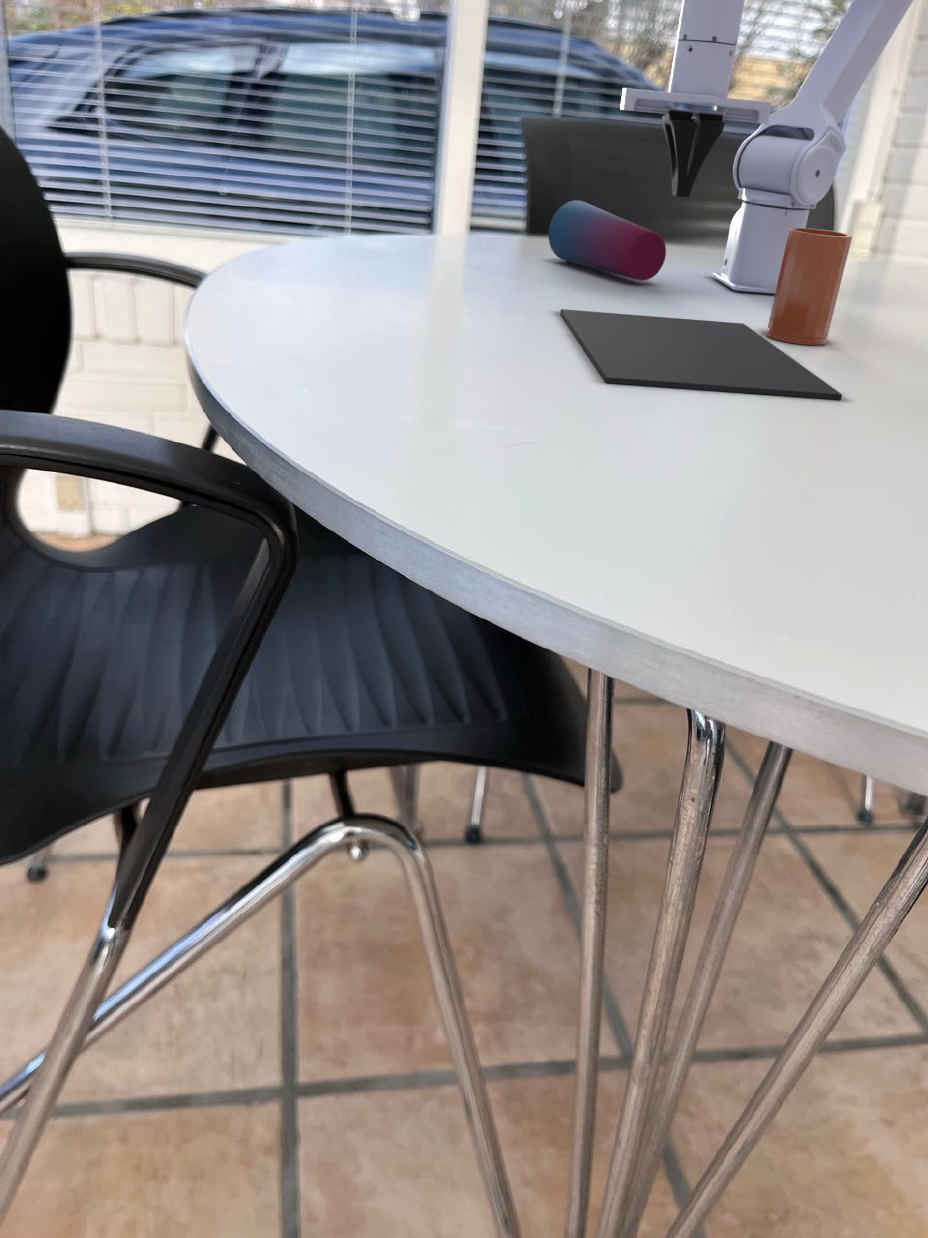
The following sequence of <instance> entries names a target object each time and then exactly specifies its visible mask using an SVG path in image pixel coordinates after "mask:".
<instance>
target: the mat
mask: <svg viewBox="0 0 928 1238" xmlns="http://www.w3.org/2000/svg"><path fill="white" fill-rule="evenodd" d="M559 313H560V315H561V316H562V319H563V320H564V322H565V323H566V324H567V326H568V327H569V329H570V331H571V332H572V333H573V335H574V336H575V338H576V339H577V341H578V342H579V344H580V345H581V347H582V348H583V351H584V352H585V353H586V355H587V356H588V358H589V359H590V360H591V362H592V364H593V365H594V366H595V368H596V369H597V371H598V373H599V374H600V375H601V377H602V378H603V380H604V381H605V383H606V384H620V385H633V386H646V387H658V388H660V387H661V388H673V389H685V390H687V389H688V390H701V391H715V392H727V393H728V392H730V393H741V394H756V395H770V396H782V397H784V396H785V397H796V398H797V397H799V398H808V399H809V398H812V399H822V400H823V399H826V400H838V401H841V400H842V397H843V393H841V392H839V391H838V390H837V389H835V388H834V387H832V386H831V385H830V384H828V383H827V382H826V381H824V380H823V379H821V378H820V377H818V376H817V375H816V374H814V373H813V372H812V371H811V370H809V369H808V368H806V367H805V366H803V365H802V364H801V363H799V362H798V361H796V360H795V359H794V358H792V357H791V356H789V355H788V354H786V353H785V352H784V351H783V350H781V349H780V348H778V347H777V346H776V345H774V344H772V342H770V341H769V340H767V339H766V338H765V337H763V336H762V335H760V334H759V333H757V331H755V330H753V329H752V328H750V327H749V326H748V325H746V324H745V323H741V322H731V321H730V322H728V321H716V320H704V319H691V318H679V317H667V316H655V315H653V316H652V315H642V314H641V315H639V314H629V313H615V312H614V313H613V312H602V311H592V310H591V311H589V310H576V309H565V308H560V312H559Z"/></svg>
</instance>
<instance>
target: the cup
mask: <svg viewBox="0 0 928 1238" xmlns="http://www.w3.org/2000/svg"><path fill="white" fill-rule="evenodd" d="M548 243H549V247H550V249H551V250H552V252H553V254H554V255H555V256H556V257H557V258H559V259H560V260H563V261H567V262H568V263H573V264H577V265H581V266H584V267H588V268H592V269H596V270H598V271H599V270H600V271H604V272H607V273H611V274H615V275H619V276H623V277H626V278H629V279H634V280H637V281H647V280H650V279H652V278H653V277H655V276H656V275H657V274H658V273H659V272H660V271H661V269H662V267H663V265H664V263H665V261H666V256H667V247H666V243H665V240H664V238H663V237H662V236H661V235H660V234H659V233H657V232H655V231H653V230H650V229H648V228H646V227H644V226H641V225H639V224H637V223H635V222H632V221H629V220H627V219H625V218H623V217H620V216H619V215H616V214H613V213H611V212H609V211H606V210H604V209H602V208H599V207H597V206H595V205H593V204H590V203H588V202H585V201H583V200H578V199H577V200H576V199H575V200H571V201H567V202H566V203H564V204H563V205H561V206H560V207H559V208H558V209H557V210H556V212H555V213H554V214H553V216H552V218H551V220H550V223H549V227H548Z"/></svg>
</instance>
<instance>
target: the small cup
mask: <svg viewBox="0 0 928 1238" xmlns="http://www.w3.org/2000/svg"><path fill="white" fill-rule="evenodd" d="M852 238H853V235H852V234H849V233H845V232H840V231H835V230H828V229H819V228H811V227H806V228H790V229H789V233H788V237H787V242H786V246H785V251H784V255H783V260H782V265H781V269H780V274H779V278H778V283H777V287H776V292H775V294H774V297H773V301H772V306H771V311H770V315H769V320H768V325H767V330H766V336H767V337H769V338H770V339H774V340H776V341H779V342H784V343H787V344H788V343H789V344H796V345H801V346H802V345H803V346H822V345H825V344H826V343H827V339H828V336H829V332H830V328H831V324H832V321H833V316H834V312H835V307H836V304H837V300H838V296H839V291H840V289H841V288H840V287H841V284H842V281H843V275H844V272H845V267H846V265H847V264H846V263H847V261H848V255H849V252H850V247H851V244H852Z"/></svg>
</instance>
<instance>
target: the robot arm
mask: <svg viewBox="0 0 928 1238" xmlns="http://www.w3.org/2000/svg"><path fill="white" fill-rule="evenodd" d="M745 1H746V0H682V2H681V9H680V15H679V22H678V29H677V33H676V34H677V35H676V42H675V48H674V54H673V61H672V67H671V74H670V79H669V86H668V91H663V90H662V91H661V90H649V89H639V88H629V87H623V88H622V93H621V100H620V107H619V110H620V111H629V112H643V113H653V114H664V115H662V118H661V119H662V120H661V122H662V123H661V124H662V129H663V132H664V135H665V139H666V143H667V148H668V154H669V159H670V167H671V196H674V197H677V198H690V197H691V193H692V190H693V187H694V184H695V181H696V179H697V176H698V174H699V172H700V170H701V168H702V166H703V164H704V162H705V160H706V158H707V156H708V155H709V153H710V151H711V149H712V148H713V146H714V145H715V143H716V142H717V141H718V139H719V138H720V136H721V135H722V133H723V131H724V129H725V124H726V122H725V121H735V122H746V123H756V124H760V125H759V127H758V128H757V130H756V131H754V132H753V133H752V134H751V135H750V136H748V137H747V138H746V139H745V140H744V141H743V142H742V143H741V145H740V146H739V148H738V150H737V152H736V154H735V157H734V161H733V165H732V166H733V167H732V168H733V169H732V178H733V182H734V185H735V187H736V189H737V191H738V198H737V199H738V200H742V203H741V207H740V208H739V209H738V210H737V211H736V213H735V214H734V216H733V217H732V220H731V222H730V225H729V231H728V237H727V241H726V247H725V250H724V251H725V252H724V257H723V262H722V267H721V272H713V273H712V277H713V278H714V279H716V280H718V281H719V282H721V283H722V284H724V285H726V286H727V287H729V288H730V289H732V290H734V291H737V292H749V293H762V294H773V295H775V292H776V287H777V283H778V278H779V274H780V269H781V265H782V260H783V255H784V251H785V246H786V242H787V237H788V233H789V229H790V228H807V223H808V219H809V215H810V209H811V210H815V209H816V208H817V205H818V202H820V201H822V200H823V198H825V196H826V195H827V193H828V192H829V191H830V189H831V187H832V184H833V182H834V180H835V176H836V172H837V169H838V166H839V163H840V161H841V159H842V157H843V156H844V154H845V152H846V151H847V146H846V141H845V139H844V136H843V133H842V131H841V129H840V127H839V124H840V122H841V120H842V119H843V118H844V116H845V114H846V112H847V110H848V109H849V108H850V106H851V104H852V103H853V101H854V99H855V98H856V96H857V94H858V93H859V91H860V89H861V87H862V86H863V84H865V83H864V82H865V81H866V79H867V78H868V77H869V74H870V73H871V72H872V70H873V68H874V66H875V65H876V63H877V61H878V59H879V58H880V56H881V55H882V53H883V51H884V50H885V48H886V46H887V44H888V43H889V42H890V39H891V38H892V36H893V35H894V33H895V31H896V30H897V29H898V27H899V25H900V23H901V21H903V19H904V16H905V15H906V13H907V12H908V11H909V8H910V7H911V5H912V3H913V2H914V0H852V1H851V3H850V4H849V6H848V8H847V9H846V11H845V12H844V14H843V16H842V17H841V19H840V21H839V23H838V25H837V26H836V28H835V29H834V31H833V33H832V35H831V36H830V37H829V38H828V39H829V40H828V41H827V43H826V44H825V46H824V47H823V50H822V51H821V53H820V54H819V56H818V58H817V60H816V61H815V62H814V65H813V66H812V67H811V70H810V71H809V73H808V75H807V76H806V78H805V80H804V82H803V83H802V85H801V86H800V88H799V90H798V91H797V93H796V95H795V97H794V98H793V100H792V101H791V102H790V103H789V104H787V105H786V106H783V107H782V108H780V109H778V110H776V111H774V112H773V113H771V110H772V107H773V106H772V105H773V102H772V101H763V100H754V99H753V100H751V99H742V98H733V97H732V98H731V97H728V95H729V89H730V83H731V78H732V74H733V73H732V72H733V69H734V62H735V56H736V55H735V54H736V50H737V45H738V39H739V35H740V28H741V23H742V19H743V13H744V7H745ZM680 104H688V105H699V106H708V107H711V111H713V112H708V111H698V110H689V109H677V108H679V107H680ZM668 107H673V108H668ZM720 112H722V113H720ZM723 120H725V121H723Z"/></svg>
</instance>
